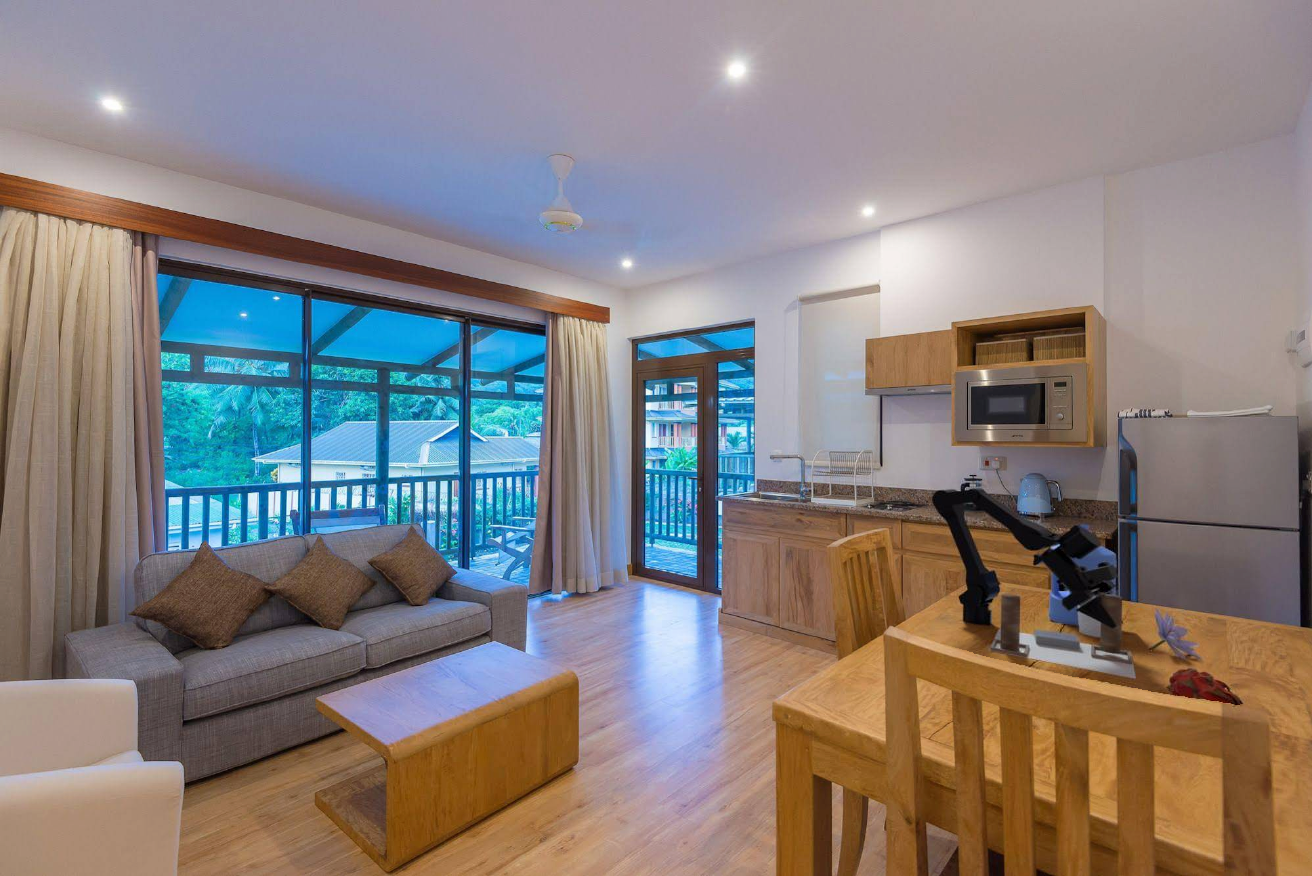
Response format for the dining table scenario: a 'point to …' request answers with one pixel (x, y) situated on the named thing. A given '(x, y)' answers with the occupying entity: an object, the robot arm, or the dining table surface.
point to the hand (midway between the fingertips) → (1118, 625)
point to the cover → (1056, 639)
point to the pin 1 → (1010, 622)
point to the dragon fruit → (1201, 687)
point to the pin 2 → (1109, 636)
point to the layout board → (1071, 656)
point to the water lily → (1173, 636)
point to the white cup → (1088, 625)
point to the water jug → (1055, 603)
